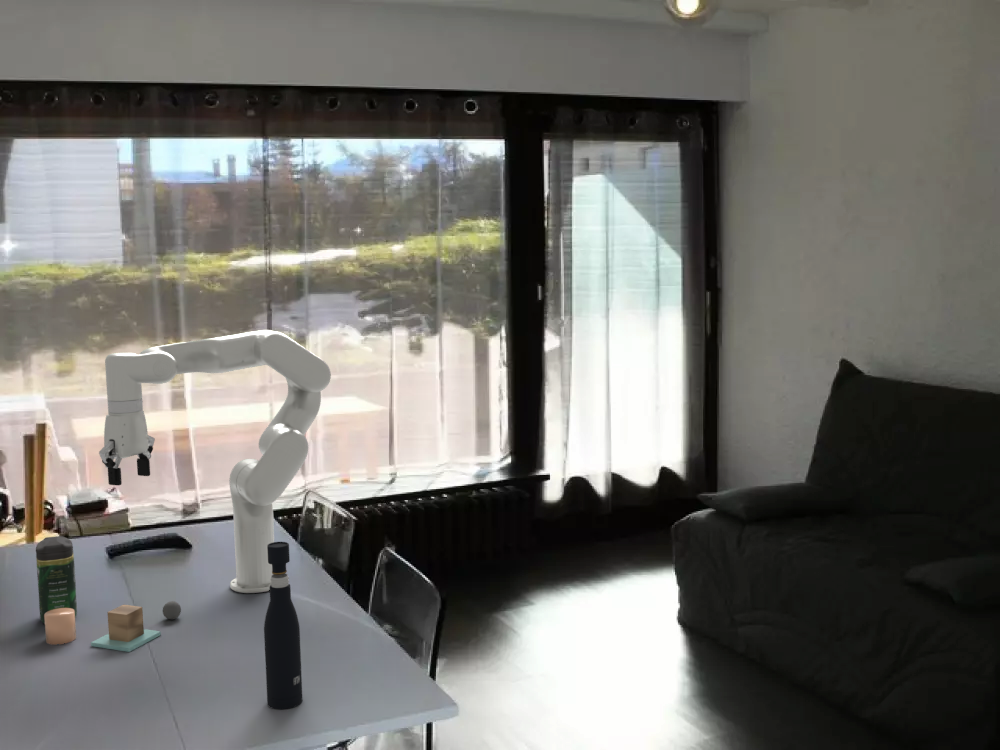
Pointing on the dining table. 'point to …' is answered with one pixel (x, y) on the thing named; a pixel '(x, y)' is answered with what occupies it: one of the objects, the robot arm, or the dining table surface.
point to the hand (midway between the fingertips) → (129, 480)
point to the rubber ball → (171, 610)
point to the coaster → (126, 646)
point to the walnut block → (125, 623)
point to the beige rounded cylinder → (60, 626)
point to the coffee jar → (56, 574)
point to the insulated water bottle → (282, 635)
